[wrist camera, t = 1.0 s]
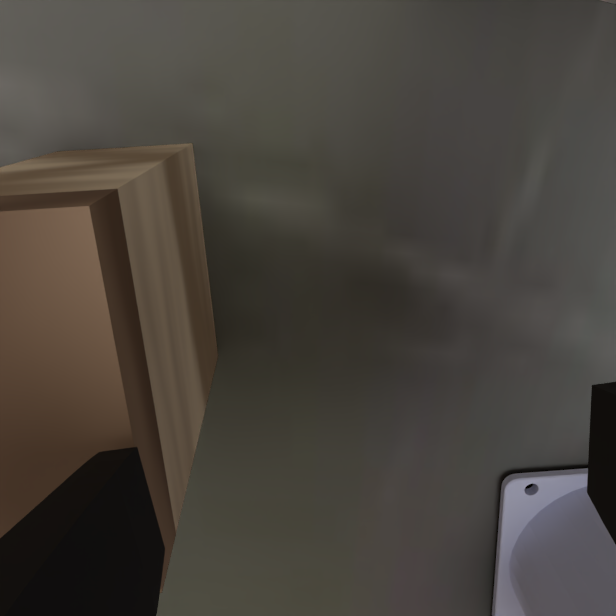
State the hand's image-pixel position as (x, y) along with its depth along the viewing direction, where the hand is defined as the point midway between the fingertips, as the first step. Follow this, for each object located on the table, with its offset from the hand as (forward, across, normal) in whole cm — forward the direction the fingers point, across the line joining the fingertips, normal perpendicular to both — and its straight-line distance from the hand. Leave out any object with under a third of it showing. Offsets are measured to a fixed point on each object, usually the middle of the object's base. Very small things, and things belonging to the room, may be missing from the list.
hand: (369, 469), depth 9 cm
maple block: (+10, +6, -1) cm, 12 cm away
